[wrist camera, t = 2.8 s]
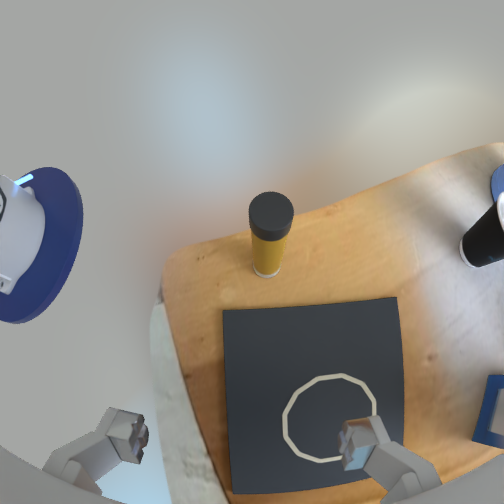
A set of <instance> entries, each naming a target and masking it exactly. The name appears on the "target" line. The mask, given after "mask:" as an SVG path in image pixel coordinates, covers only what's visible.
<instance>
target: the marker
mask: <svg viewBox="0 0 504 504" xmlns="http://www.w3.org/2000/svg"><path fill="white" fill-rule="evenodd" d="M293 216H294V210H293V206H292V203H291V202H290V200H289V199H288V198H287V197H285V196H284V195H282V194H280V193H277V192H264V193H262V194H259V195H258V196H256V197H255V198H254V199H253V200H252V202H251V204H250V206H249V223H250V228H251V234H252V250H253V268H254V271H255V272H256V274H257V275H259V276H260V277H263V278H271V277H274V276H275V275H276V274H277V273H278V272H279V270H280V267H281V261H282V257H283V253H284V248H285V244H286V240H287V235H288V232H289V231H290V228H291V224H292V220H293Z"/></svg>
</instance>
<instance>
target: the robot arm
mask: <svg viewBox="0 0 504 504" xmlns="http://www.w3.org/2000/svg"><path fill="white" fill-rule="evenodd" d="M32 178H33V176H32V175H31V174H29V175H27V176H25V177H23V178H21V179H19V180H17V181H16V182H13V181H12V180H11V179H10V178H8V177H7V176H5V175H3V174H2V175H0V292H2V293H5V294H7V295H8V294H10V293H11V291H12V290H13V288H14V286H15V284H16V282H17V280H18V279H19V278H20V276H22V275H23V274H24V273H25V271H26V270H27V269H28V268H29V267H30V265H31V264H32V262H33V260H34V259H35V257H36V255H37V253H38V250H39V248H40V245H41V242H42V239H43V235H44V229H45V213H44V209H43V207H42V205H41V204H40V203H39V202H38V201H37V200H36V198H35V193H34V190H33V189H32V188H31V187H26V188H24V189H23V188H22V187H21V186H19V185H20V184H22V183H24V182H26V181H28V180H30V179H32ZM144 420H145V419H144V417H143V415H141V414H137V413H132V412H128V411H124V410H119V409H115V408H111V407H109V408H108V409H107V410H106V412H105V414H104V416H103V417H102V419H101V421H100V423H99V425H98V426H97V428H96V430H95V432H90V433H88V434H86V435H84V436H82V437H80V438H78V439H76V440H74V441H72V442H70V443H68V444H66V445H64V446H62V447H61V448H58V449H56V450H54V451H53V452H52V454H51V455H50V457H49V459H48V460H47V462H46V464H45V466H44V467H43V469H42V470H40V469H39V468H37V467H35V466H33V465H31V464H29V463H28V462H26V461H24V460H22V459H21V458H19V457H17V456H16V455H14V454H12V453H11V452H9V451H8V450H6V449H5V448H3V447H2V446H0V504H125V503H122V502H118V501H115V500H112V499H109V498H106V497H103V496H101V495H102V491H101V489H100V488H99V487H98V485H97V484H96V483H95V481H97V480H98V479H100V478H101V477H102V476H103V475H105V474H106V473H107V472H109V471H110V470H111V469H113V468H114V467H115V466H117V465H118V464H119V463H120V462H122V461H126V462H130V463H135V464H140V463H141V459H142V457H143V454H144V453H143V450H142V448H144V447H145V446H146V445H147V443H148V436H149V432H148V428H147V426H146V425H145V424H144ZM341 426H342V430H341V431H340V432H339V434H338V437H337V446H338V451H339V452H340V453H341V454H343V456H342V458H341V462H342V466H343V470H344V471H349V470H356V469H362V468H363V470H364V471H365V472H367V473H368V474H369V475H370V476H371V477H372V478H373V479H374V480H376V481H377V482H378V483H379V484H380V485H381V486H383V487H384V488H385V489H386V490H387V491H388V493H387V494H386V495H385V497H384V498H383V499H382V500H381V501H380V503H381V504H504V454H500V455H498V456H496V457H495V458H493V459H491V460H490V461H488V462H486V463H484V464H483V465H481V466H479V467H477V468H475V469H474V470H472V471H470V472H468V473H466V474H464V475H462V476H460V477H458V478H456V479H453V480H451V481H449V482H447V483H445V484H442V482H441V480H440V478H439V476H438V474H437V472H436V470H435V468H434V466H433V464H432V463H430V462H428V461H427V460H425V459H423V458H421V457H420V456H418V455H416V454H415V453H413V452H411V451H410V450H408V449H406V448H405V447H403V446H401V445H400V444H398V443H397V442H395V441H392V442H391V440H390V438H389V436H388V433H387V431H386V429H385V427H384V425H383V422H382V420H381V418H380V416H378V415H375V416H369V417H362V418H355V419H349V420H344V421H343V423H342V425H341ZM121 460H122V461H121Z"/></svg>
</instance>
